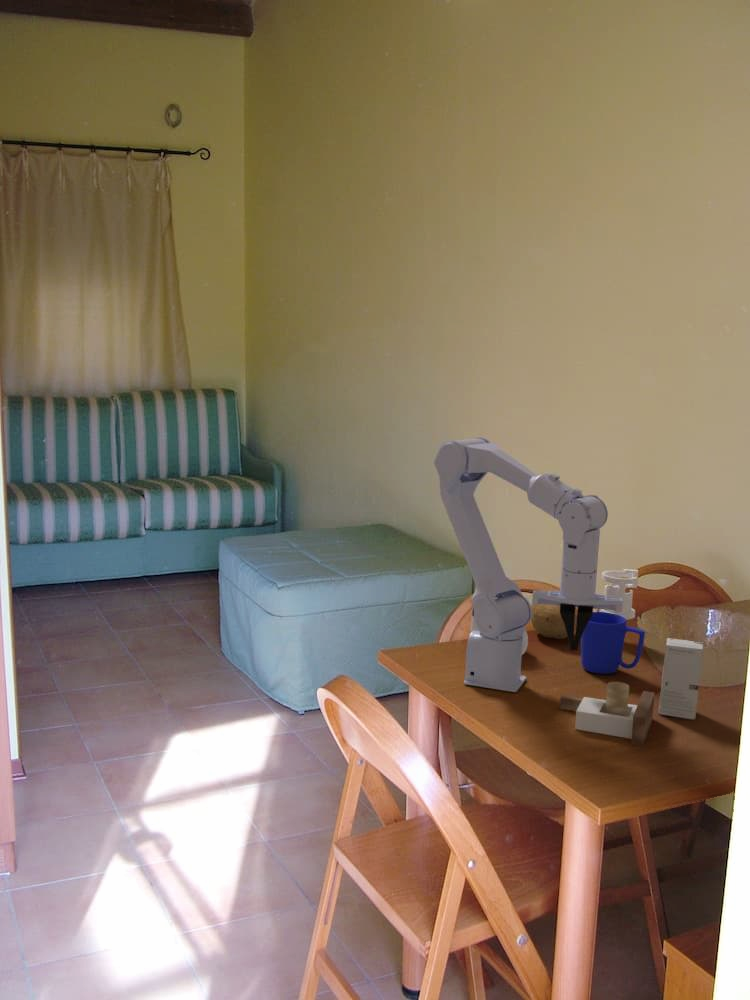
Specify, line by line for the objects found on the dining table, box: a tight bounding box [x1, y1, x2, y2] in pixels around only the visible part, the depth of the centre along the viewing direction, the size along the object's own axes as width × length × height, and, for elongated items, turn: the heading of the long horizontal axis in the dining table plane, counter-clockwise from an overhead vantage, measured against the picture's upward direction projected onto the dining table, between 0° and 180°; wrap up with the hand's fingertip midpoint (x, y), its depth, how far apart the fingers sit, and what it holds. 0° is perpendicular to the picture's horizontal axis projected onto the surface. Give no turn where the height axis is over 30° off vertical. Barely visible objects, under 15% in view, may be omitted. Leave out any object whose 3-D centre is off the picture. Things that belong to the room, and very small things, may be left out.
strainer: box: [598, 568, 639, 621], centre depth 211 cm, size 7×7×15 cm
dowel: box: [605, 681, 630, 717], centre depth 166 cm, size 3×3×6 cm
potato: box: [530, 603, 577, 640], centre depth 213 cm, size 10×14×8 cm
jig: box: [559, 690, 656, 747], centre depth 167 cm, size 15×12×4 cm
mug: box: [580, 611, 646, 675], centre depth 192 cm, size 8×12×10 cm
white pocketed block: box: [574, 696, 638, 740], centre depth 167 cm, size 9×7×3 cm
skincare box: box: [658, 637, 705, 720], centre depth 173 cm, size 6×4×12 cm
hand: (573, 649), depth 174 cm, fingers closed
